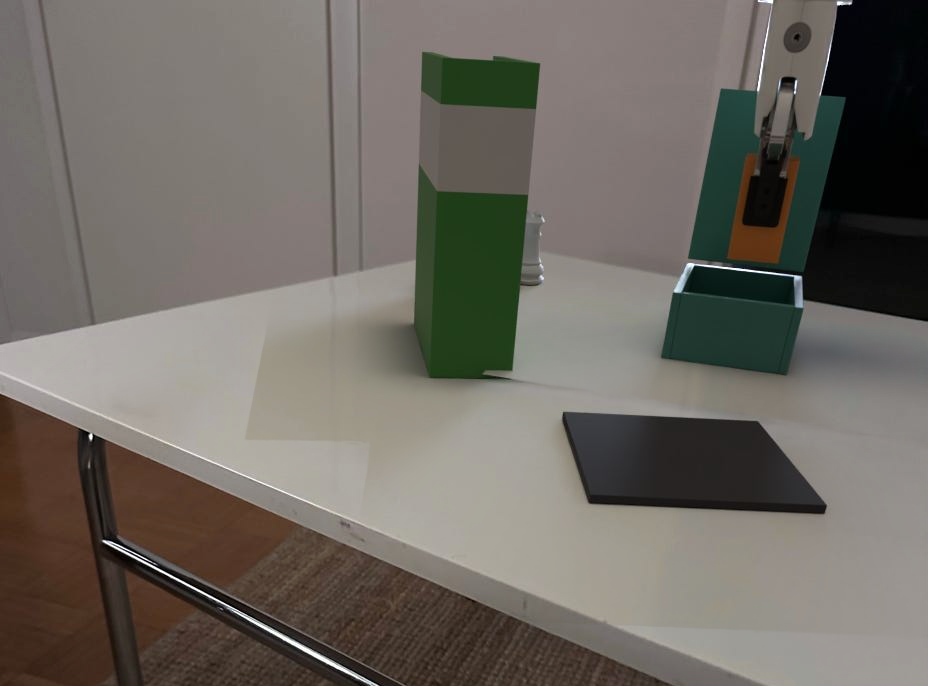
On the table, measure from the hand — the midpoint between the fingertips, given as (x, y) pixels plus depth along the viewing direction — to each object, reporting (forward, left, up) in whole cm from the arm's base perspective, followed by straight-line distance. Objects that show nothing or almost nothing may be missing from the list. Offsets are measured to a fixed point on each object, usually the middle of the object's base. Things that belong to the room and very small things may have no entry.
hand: (760, 219), depth 86 cm
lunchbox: (0, 0, -13) cm, 13 cm away
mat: (+11, +29, -13) cm, 34 cm away
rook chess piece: (+18, -28, -13) cm, 36 cm away
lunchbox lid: (-2, -8, +2) cm, 8 cm away
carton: (0, 0, -3) cm, 3 cm away
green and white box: (+27, +3, -13) cm, 30 cm away
